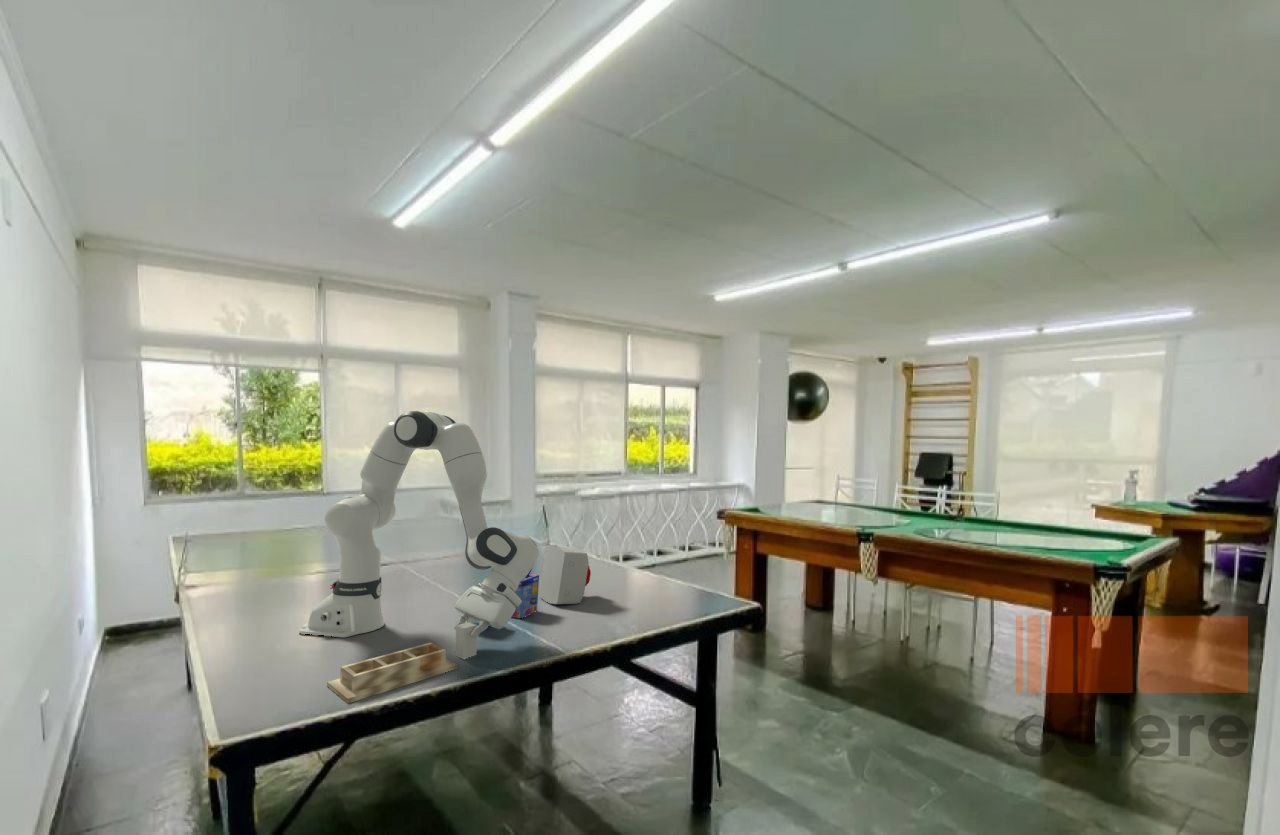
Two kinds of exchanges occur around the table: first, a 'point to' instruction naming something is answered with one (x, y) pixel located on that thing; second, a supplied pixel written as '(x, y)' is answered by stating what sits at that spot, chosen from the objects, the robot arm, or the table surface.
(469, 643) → the off-white tall block
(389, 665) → the rack
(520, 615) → the ink cartridge box
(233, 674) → the table surface
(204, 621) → the table surface
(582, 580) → the electrical switch box
